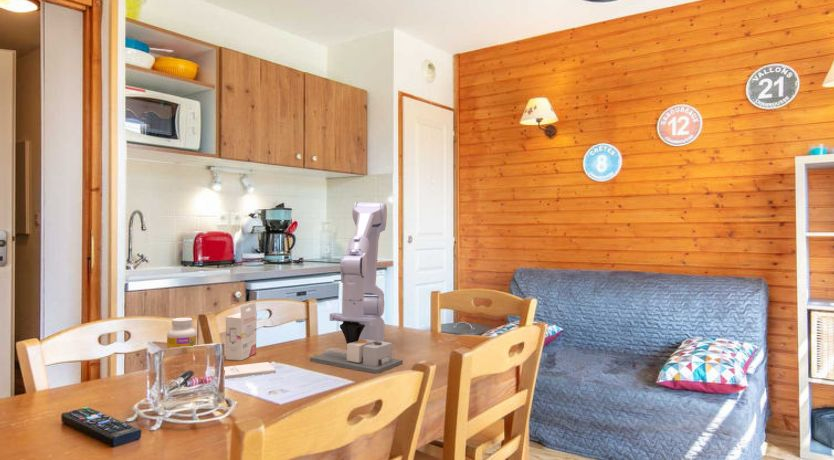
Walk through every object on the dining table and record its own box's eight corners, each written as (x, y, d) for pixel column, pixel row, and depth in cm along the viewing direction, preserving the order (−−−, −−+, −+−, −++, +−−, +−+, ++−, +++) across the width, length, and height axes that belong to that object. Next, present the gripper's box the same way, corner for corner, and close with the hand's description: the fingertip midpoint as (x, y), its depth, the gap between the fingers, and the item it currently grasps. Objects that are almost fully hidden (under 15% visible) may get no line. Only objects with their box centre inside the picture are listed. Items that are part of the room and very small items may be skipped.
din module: (363, 354, 149) (364, 336, 149) (375, 356, 147) (376, 338, 147) (346, 360, 143) (347, 341, 143) (358, 362, 141) (359, 343, 141)
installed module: (379, 358, 147) (379, 338, 147) (391, 360, 145) (392, 340, 145) (362, 364, 141) (363, 343, 140) (375, 366, 138) (375, 345, 138)
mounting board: (338, 352, 157) (338, 349, 157) (402, 363, 146) (402, 359, 146) (310, 361, 147) (310, 357, 147) (376, 373, 136) (376, 369, 136)
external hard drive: (275, 375, 135) (222, 381, 129) (267, 367, 142) (217, 372, 136) (275, 369, 135) (223, 374, 129) (268, 361, 142) (217, 366, 136)
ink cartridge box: (240, 352, 155) (241, 301, 155) (256, 353, 154) (257, 301, 154) (224, 359, 147) (225, 305, 147) (241, 361, 146) (241, 306, 146)
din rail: (333, 352, 153) (333, 347, 153) (389, 362, 143) (389, 356, 143) (324, 355, 150) (324, 349, 150) (381, 365, 140) (381, 359, 140)
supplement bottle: (173, 375, 131) (174, 322, 131) (161, 370, 135) (162, 318, 135) (200, 370, 136) (201, 319, 136) (188, 365, 140) (189, 315, 140)
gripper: (322, 298, 147) (321, 348, 147) (365, 303, 140) (364, 356, 140) (339, 296, 153) (338, 344, 153) (381, 300, 146) (380, 351, 146)
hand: (352, 349), depth 147 cm, fingers closed
